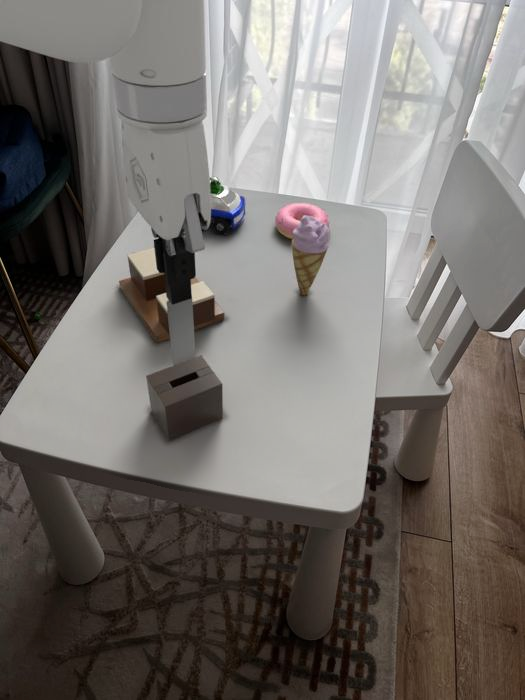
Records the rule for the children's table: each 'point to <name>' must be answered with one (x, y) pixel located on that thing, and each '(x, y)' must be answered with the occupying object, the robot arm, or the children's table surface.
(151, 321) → the cutting board
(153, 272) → the cake
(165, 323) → the cake slice
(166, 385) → the knife block
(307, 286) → the ice cream cone
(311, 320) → the children's table surface
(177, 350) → the knife
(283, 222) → the doughnut
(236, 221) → the toy car
